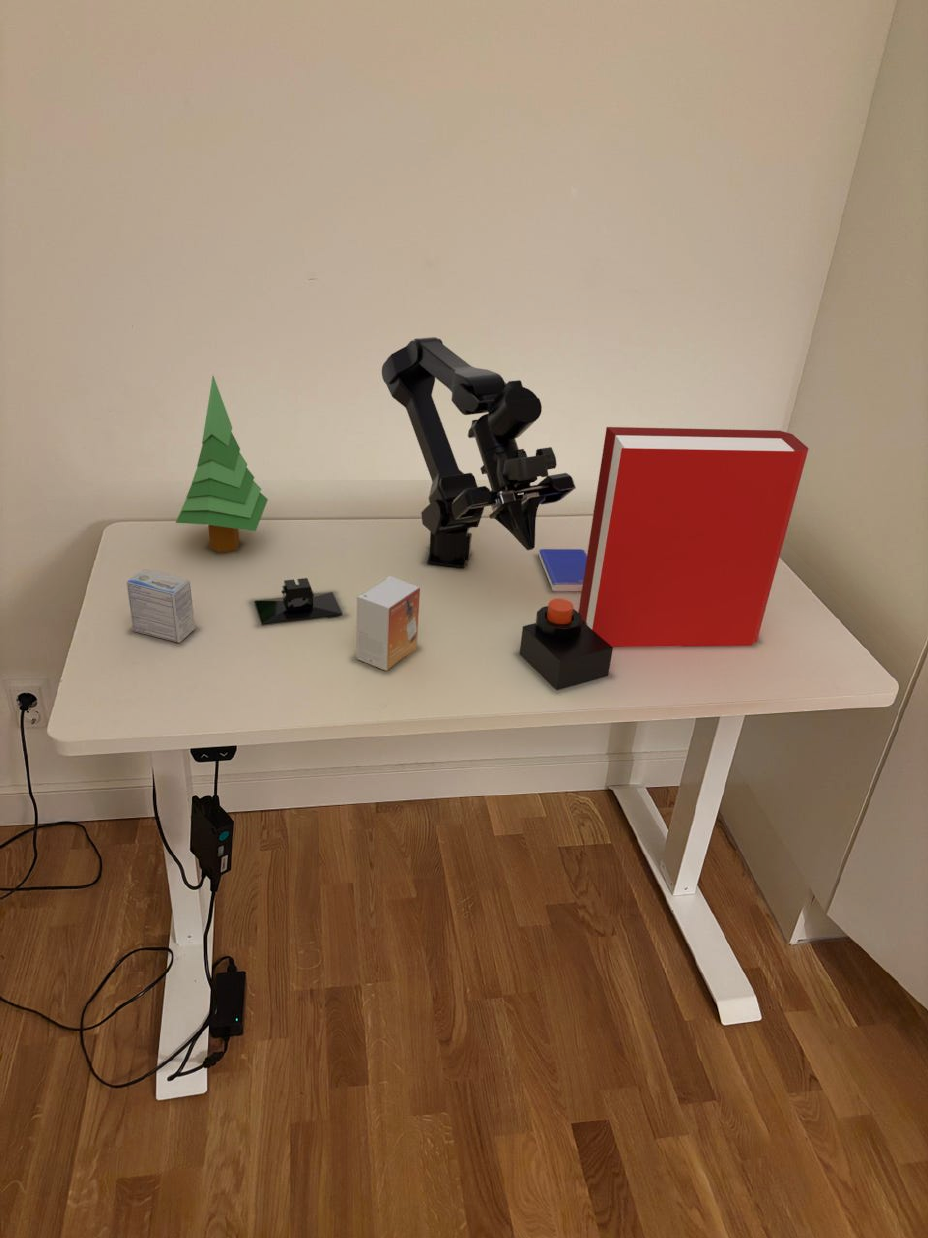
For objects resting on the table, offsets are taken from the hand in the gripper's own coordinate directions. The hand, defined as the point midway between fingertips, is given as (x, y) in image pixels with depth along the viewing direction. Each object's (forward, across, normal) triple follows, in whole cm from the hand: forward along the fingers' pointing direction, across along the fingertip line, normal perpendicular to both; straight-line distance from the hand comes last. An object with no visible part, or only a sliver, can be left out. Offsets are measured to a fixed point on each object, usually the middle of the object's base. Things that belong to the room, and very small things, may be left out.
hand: (531, 549), depth 143 cm
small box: (+9, -22, +11) cm, 26 cm away
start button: (+11, 0, -2) cm, 11 cm away
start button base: (+18, 0, +1) cm, 18 cm away
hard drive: (+1, +17, +18) cm, 25 cm away
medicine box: (-4, -50, +24) cm, 55 cm away
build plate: (-3, -30, +23) cm, 38 cm away
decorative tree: (-20, -34, +40) cm, 56 cm away
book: (+17, +20, +2) cm, 27 cm away
